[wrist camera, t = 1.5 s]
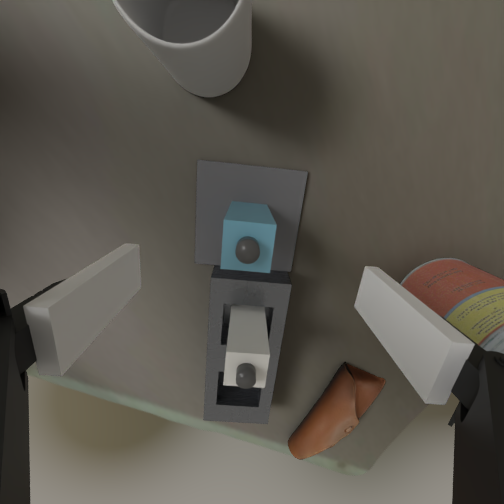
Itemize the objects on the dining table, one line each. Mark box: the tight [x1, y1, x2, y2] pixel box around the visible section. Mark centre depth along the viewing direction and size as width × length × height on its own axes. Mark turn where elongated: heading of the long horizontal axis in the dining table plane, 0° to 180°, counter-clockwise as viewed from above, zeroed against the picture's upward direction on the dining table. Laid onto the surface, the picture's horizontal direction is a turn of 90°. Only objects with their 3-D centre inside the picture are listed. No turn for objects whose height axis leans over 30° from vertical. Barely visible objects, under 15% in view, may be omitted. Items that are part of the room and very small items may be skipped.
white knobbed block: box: [223, 304, 270, 389], centre depth 27 cm, size 4×4×11 cm
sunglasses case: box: [288, 362, 386, 460], centre depth 38 cm, size 18×7×7 cm
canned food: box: [400, 258, 504, 354], centre depth 27 cm, size 11×11×12 cm
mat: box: [195, 160, 308, 272], centre depth 29 cm, size 12×12×1 cm
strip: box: [203, 265, 292, 424], centre depth 33 cm, size 22×9×4 cm, turn 174°
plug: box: [220, 201, 277, 273], centre depth 23 cm, size 4×4×11 cm
